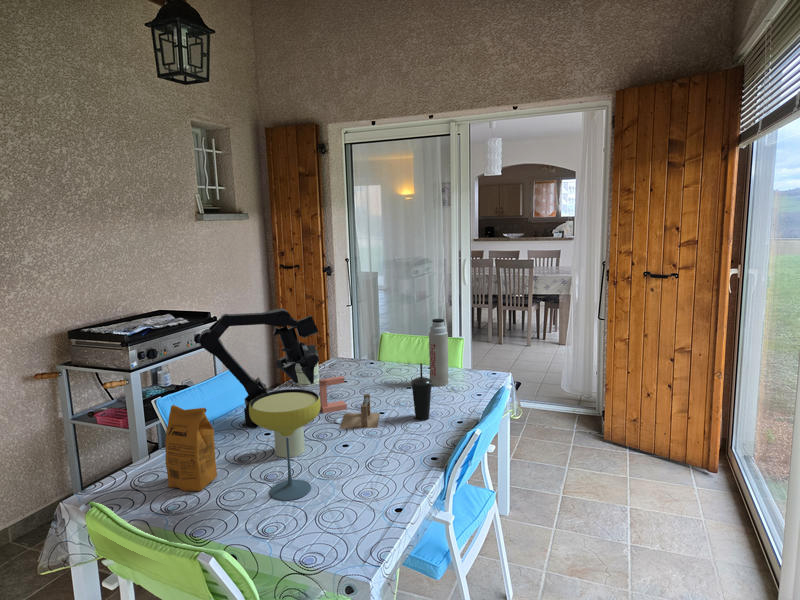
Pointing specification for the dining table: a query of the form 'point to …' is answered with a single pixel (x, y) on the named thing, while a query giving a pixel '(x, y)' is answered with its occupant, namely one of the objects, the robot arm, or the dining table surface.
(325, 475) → the dining table surface
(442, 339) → the thermos bottle
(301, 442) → the can
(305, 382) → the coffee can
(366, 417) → the stand
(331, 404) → the c link
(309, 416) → the cocktail glass
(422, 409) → the drinking cup
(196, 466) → the coffee package
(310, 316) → the robot arm
